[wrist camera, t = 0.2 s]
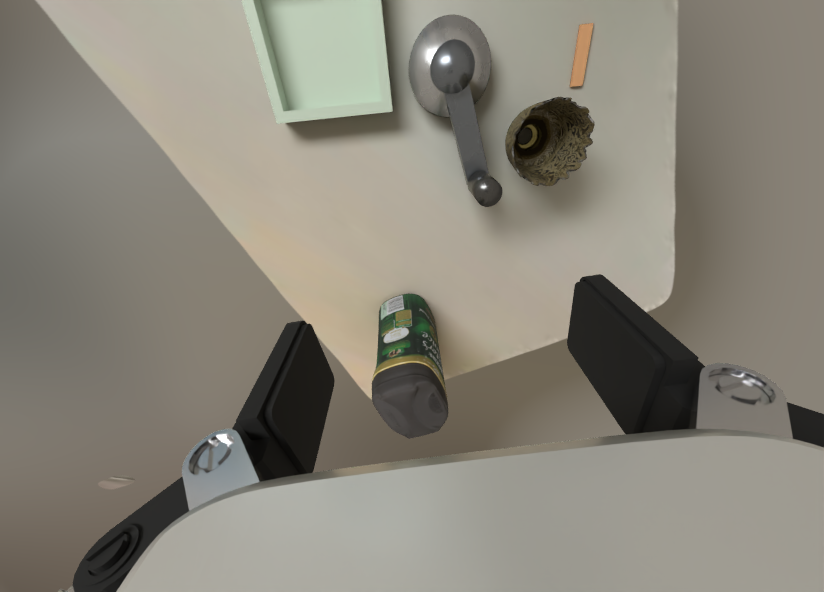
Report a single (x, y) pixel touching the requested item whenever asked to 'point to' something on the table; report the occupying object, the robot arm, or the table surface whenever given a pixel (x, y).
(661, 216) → the table surface
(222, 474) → the robot arm
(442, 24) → the crank base
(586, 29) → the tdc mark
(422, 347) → the coffee jar
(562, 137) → the ornate brass lampshade
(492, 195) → the crank
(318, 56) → the tray
